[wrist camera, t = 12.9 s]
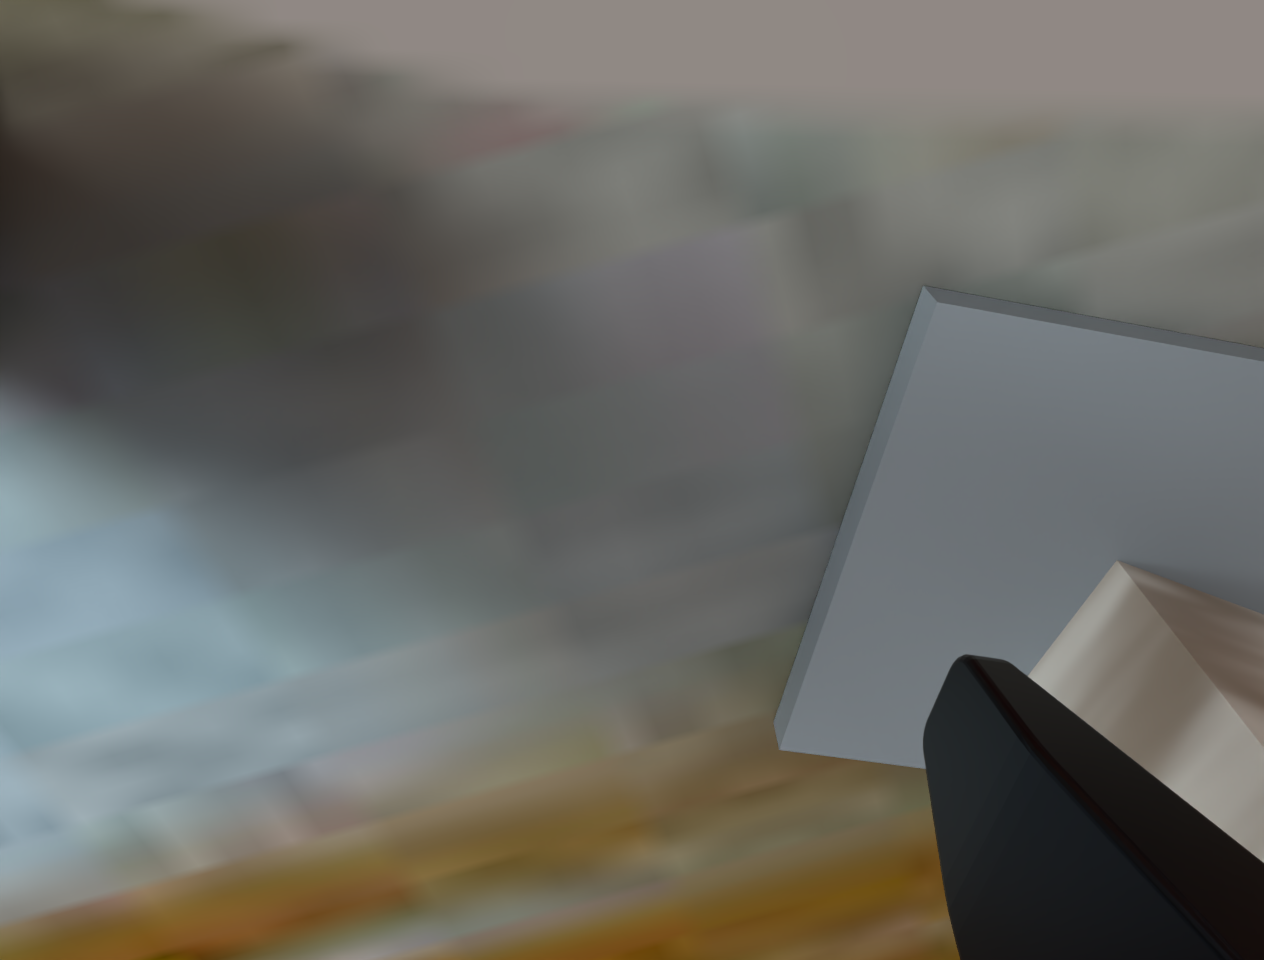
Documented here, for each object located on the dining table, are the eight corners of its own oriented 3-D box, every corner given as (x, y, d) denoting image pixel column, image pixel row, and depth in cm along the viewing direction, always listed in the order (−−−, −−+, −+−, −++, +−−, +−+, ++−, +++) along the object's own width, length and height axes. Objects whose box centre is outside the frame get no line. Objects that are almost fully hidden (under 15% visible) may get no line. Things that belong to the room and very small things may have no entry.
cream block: (996, 715, 25) (1202, 1144, 16) (1116, 560, 23) (1429, 960, 14) (1161, 769, 26) (1438, 1199, 17) (1291, 625, 24) (1684, 1036, 15)
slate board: (773, 722, 26) (780, 758, 25) (923, 285, 21) (941, 307, 19) (1263, 787, 28) (1291, 823, 27) (1530, 397, 22) (1580, 423, 21)
